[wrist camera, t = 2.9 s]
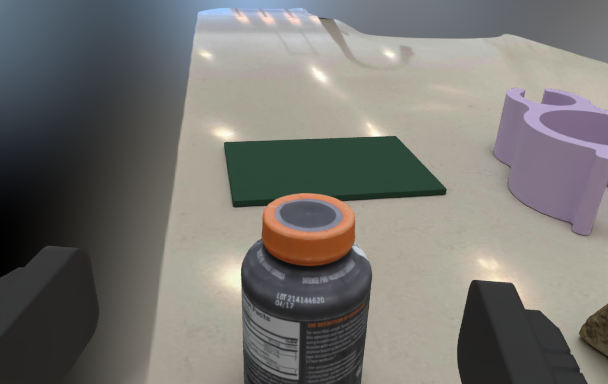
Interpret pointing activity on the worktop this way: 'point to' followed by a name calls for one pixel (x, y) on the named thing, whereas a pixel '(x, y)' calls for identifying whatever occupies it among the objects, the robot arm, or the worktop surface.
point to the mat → (326, 169)
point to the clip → (555, 154)
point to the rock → (597, 330)
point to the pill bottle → (305, 295)
